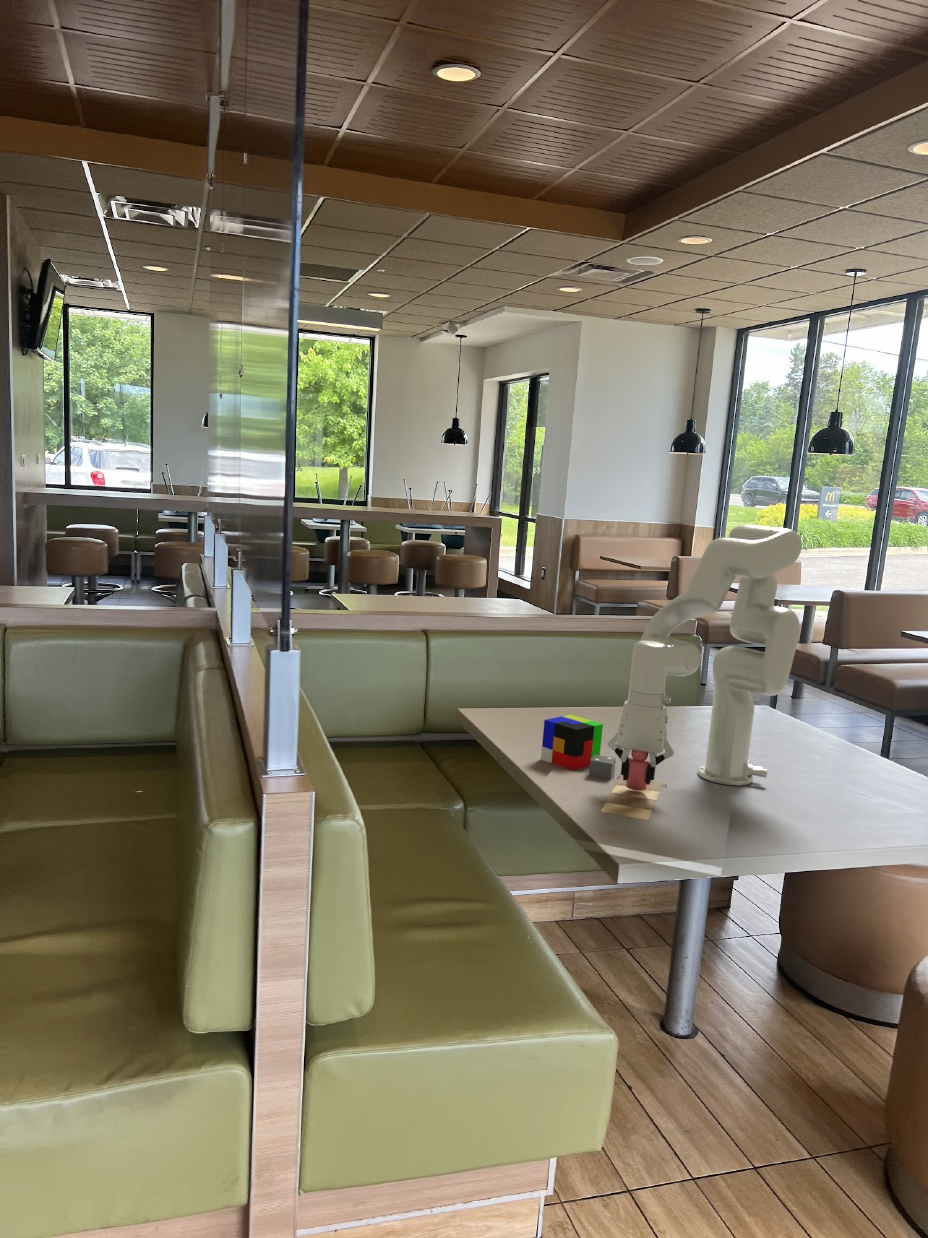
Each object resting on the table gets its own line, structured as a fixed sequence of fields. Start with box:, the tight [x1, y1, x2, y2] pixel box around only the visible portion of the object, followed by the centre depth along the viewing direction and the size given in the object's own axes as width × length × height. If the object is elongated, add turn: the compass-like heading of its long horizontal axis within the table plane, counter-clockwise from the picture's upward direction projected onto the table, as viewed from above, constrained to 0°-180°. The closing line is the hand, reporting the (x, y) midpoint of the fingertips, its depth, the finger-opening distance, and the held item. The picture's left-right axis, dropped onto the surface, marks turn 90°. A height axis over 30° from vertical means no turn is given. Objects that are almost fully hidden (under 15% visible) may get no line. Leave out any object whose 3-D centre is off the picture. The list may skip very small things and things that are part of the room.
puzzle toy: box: [540, 714, 604, 772], centre depth 221 cm, size 10×10×10 cm
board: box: [600, 775, 668, 821], centre depth 196 cm, size 11×27×1 cm, turn 161°
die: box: [588, 755, 617, 781], centre depth 209 cm, size 5×5×5 cm
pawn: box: [626, 750, 650, 791], centre depth 198 cm, size 4×4×9 cm
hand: (637, 780), depth 198 cm, fingers closed on pawn, 4 cm apart
